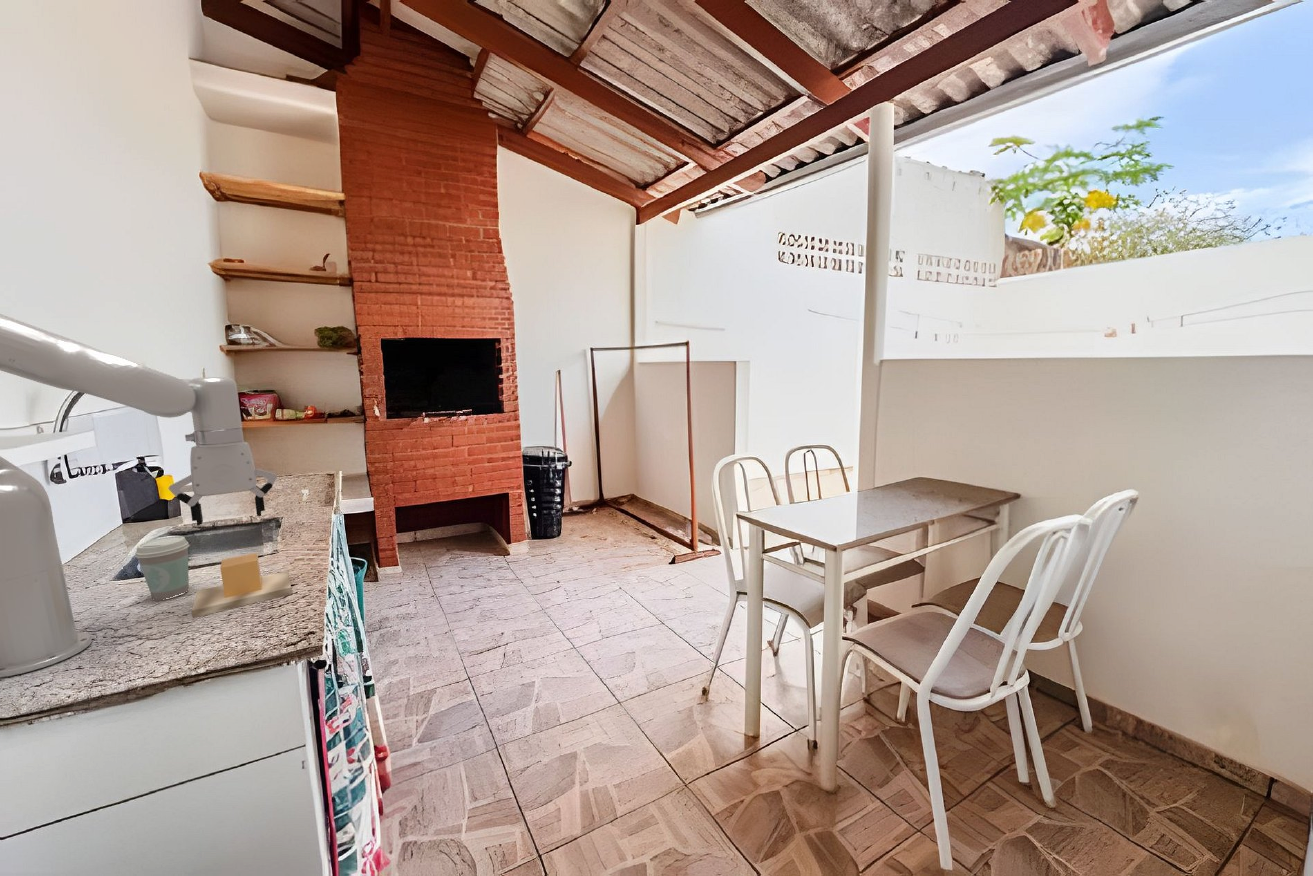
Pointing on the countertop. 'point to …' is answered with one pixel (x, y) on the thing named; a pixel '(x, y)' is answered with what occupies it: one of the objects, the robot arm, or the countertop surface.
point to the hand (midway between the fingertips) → (230, 519)
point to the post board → (241, 595)
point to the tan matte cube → (241, 575)
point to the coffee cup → (165, 566)
